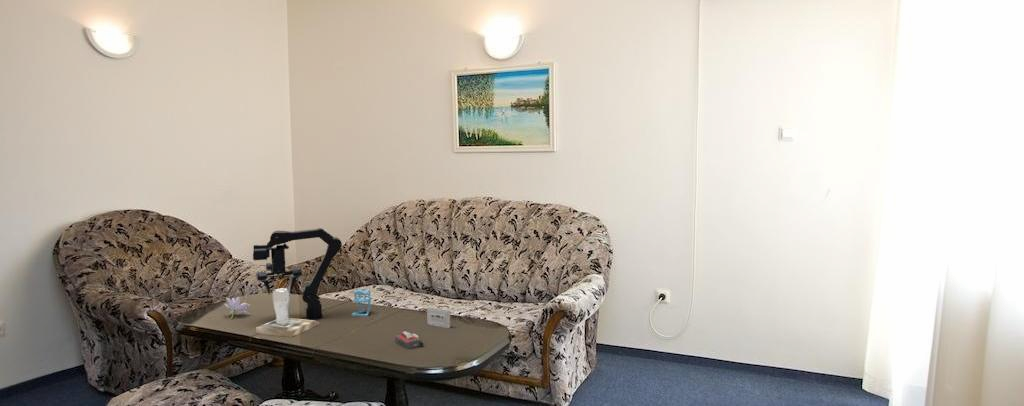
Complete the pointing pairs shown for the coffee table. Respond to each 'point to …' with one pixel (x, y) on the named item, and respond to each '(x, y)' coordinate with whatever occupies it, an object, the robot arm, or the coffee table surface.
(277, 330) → the dock
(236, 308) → the water lily
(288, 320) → the beer glass
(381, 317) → the coffee table surface
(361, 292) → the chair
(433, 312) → the cassette
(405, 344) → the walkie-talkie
